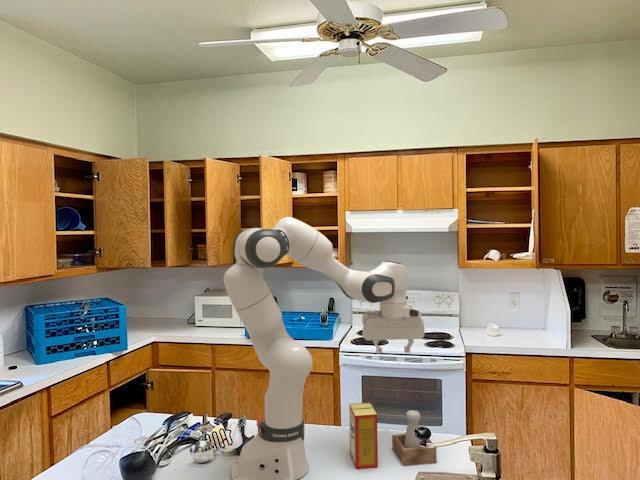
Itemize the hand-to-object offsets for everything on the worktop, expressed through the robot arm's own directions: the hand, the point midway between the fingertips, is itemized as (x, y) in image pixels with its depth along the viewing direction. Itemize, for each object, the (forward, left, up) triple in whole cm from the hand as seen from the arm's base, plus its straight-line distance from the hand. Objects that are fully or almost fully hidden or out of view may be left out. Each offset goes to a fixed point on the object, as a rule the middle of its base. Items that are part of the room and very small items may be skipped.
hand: (393, 352), depth 145 cm
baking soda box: (-13, -9, -30) cm, 34 cm away
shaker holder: (+3, -9, -30) cm, 31 cm away
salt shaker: (+3, -9, -29) cm, 31 cm away
